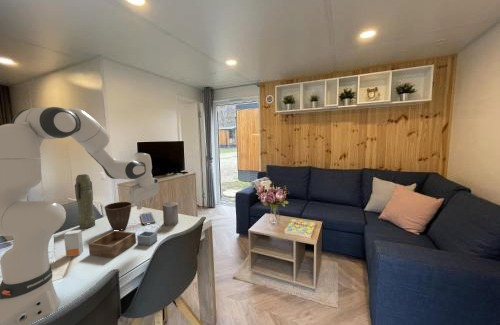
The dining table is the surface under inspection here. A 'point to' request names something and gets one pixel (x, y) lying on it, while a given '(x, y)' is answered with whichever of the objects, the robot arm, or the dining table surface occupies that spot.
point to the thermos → (84, 201)
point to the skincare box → (73, 243)
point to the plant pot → (118, 214)
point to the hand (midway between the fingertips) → (145, 206)
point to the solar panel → (147, 218)
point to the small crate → (147, 238)
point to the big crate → (112, 244)
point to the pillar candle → (170, 213)
